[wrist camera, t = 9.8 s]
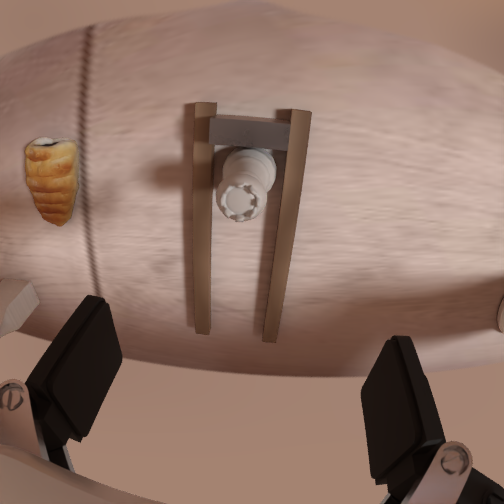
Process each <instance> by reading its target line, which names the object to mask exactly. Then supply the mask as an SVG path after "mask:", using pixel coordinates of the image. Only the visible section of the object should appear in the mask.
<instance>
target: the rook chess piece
mask: <svg viewBox="0 0 504 504" xmlns="http://www.w3.org/2000/svg"><path fill="white" fill-rule="evenodd" d="M276 168H277V167H276V165H275V162H274V159H273V157H272V156H271V155H270V154H269V153H268V152H267V151H266V150H264V149H262V148H254V147H239V148H236V149H234V150H233V151H232V152H231V153H230V154H229V155H228V156H227V158H226V161H225V163H224V165H223V181H222V182H221V183H220V184H219V186H218V189H217V191H216V202H217V204H218V206H219V209H220V210H221V211H222V212H223V214H224V215H225V216H226V217H227V218H231V219H233V220H236V221H235V222H243V221H248V220H251V219H254V218H256V217H257V216H258V215H259V214H261V213H262V212H263V210H264V208H265V206H266V202H267V192H268V191H269V190H270V189H271V187H272V185H273V183H274V181H275V178H276Z"/></svg>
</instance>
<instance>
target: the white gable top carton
mask: <svg viewBox="0 0 504 504" xmlns="http://www.w3.org/2000/svg"><path fill="white" fill-rule="evenodd" d="M39 303H40V301H39V299H38V297H37V295H36V292H35V290H34V288H33V285H32V283H31V281H24V280H14V279H3V280H2V281H1V282H0V338H1V337H3V336H4V335H6V334H8V333H11V332H13V331H16V330H18V329H19V328H20V327H21V326H22V324H23V323H24V322H25V321H26V319H27V318H28V317H29V316H30V314H31V313H32V312H33V311H34V309H35V308H36V307H37V306H38V305H39Z"/></svg>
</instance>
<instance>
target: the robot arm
mask: <svg viewBox="0 0 504 504" xmlns="http://www.w3.org/2000/svg"><path fill="white" fill-rule="evenodd" d="M497 323H498V326H499V329H500V330H501V332H502V333H503V334H504V298H503V300H502V303H501V305H500V308H499V311H498V317H497ZM121 363H122V352H121V349H120V345H119V342H118V338H117V334H116V331H115V327H114V323H113V319H112V315H111V311H110V307H109V304H108V303H106V302H105V299H104V298H101V297H97V296H92V295H87V296H86V297H85V298H84V300H83V301H82V302H81V304H80V305H79V306H78V308H77V309H76V310H75V312H74V313H73V314H72V315H71V317H70V318H69V320H68V321H67V322H66V324H65V325H64V326H63V328H62V329H61V330H60V332H59V333H58V335H57V336H56V337H55V339H54V340H53V342H52V343H51V345H50V346H49V347H48V349H47V350H46V352H45V353H44V355H43V356H42V357H41V359H40V360H39V362H38V363H37V365H36V366H35V368H34V369H33V371H32V372H31V374H30V375H29V377H28V379H27V381H26V382H25V384H24V383H23V382H21V381H20V380H16V379H10V380H7V381H4V382H3V383H1V384H0V504H165V503H162V502H158V501H154V500H150V499H147V498H143V497H140V496H137V495H133V494H130V493H127V492H124V491H121V490H118V489H115V488H112V487H109V486H107V485H104V484H101V483H99V482H96V481H93V480H91V479H88V478H86V477H83V476H81V475H78V474H76V473H75V470H74V468H73V465H72V462H71V459H70V456H69V453H68V450H67V447H66V443H67V441H68V439H69V438H71V439H73V440H75V441H78V442H81V440H82V438H83V437H86V436H87V435H88V434H89V431H90V429H91V427H92V425H93V423H94V420H95V418H96V416H97V414H98V412H99V409H100V407H101V405H102V403H103V401H104V399H105V397H106V394H107V392H108V390H109V388H110V386H111V384H112V382H113V380H114V378H115V376H116V374H117V372H118V370H119V368H120V365H121ZM361 402H362V408H363V415H364V422H365V430H366V437H367V446H368V455H369V464H370V473H371V477H372V478H373V479H375V483H376V485H382V484H387V486H388V494H387V495H386V496H385V498H384V499H383V501H382V502H381V503H380V504H504V489H503V487H501V486H500V485H499V484H497V483H495V482H494V481H493V480H491V479H490V478H488V477H486V476H485V475H483V474H482V473H480V472H479V471H477V470H476V469H474V468H473V467H472V464H473V460H472V455H471V452H470V451H469V449H468V448H467V447H466V446H465V445H464V444H463V443H460V442H457V441H450V442H446V440H445V436H444V432H443V429H442V425H441V421H440V418H439V414H438V411H437V408H436V404H435V401H434V398H433V395H432V392H431V389H430V386H429V383H428V380H427V378H426V376H425V375H424V373H423V370H422V367H421V364H420V361H419V358H418V356H417V353H416V350H415V347H414V345H413V342H412V339H411V338H410V337H409V336H392V338H391V339H390V340H387V341H386V342H385V345H384V347H383V349H382V351H381V353H380V355H379V357H378V358H377V360H376V362H375V364H374V366H373V368H372V370H371V372H370V374H369V376H368V377H367V379H366V381H365V383H364V385H363V386H362V389H361Z"/></svg>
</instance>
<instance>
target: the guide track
mask: <svg viewBox="0 0 504 504" xmlns="http://www.w3.org/2000/svg"><path fill="white" fill-rule="evenodd" d="M216 111H217V103H211V102H197V103H195V121H194V149H193V280H194V308H195V330H196V333H197V334H204V335H209V332H210V328H211V228H212V194H213V169H214V147H215V144H209V128H210V118H211V117H213V116H215V115H216ZM311 115H312V112H310V111H304V110H297V109H292V110H291V120H290V124H291V126H290V135H289V144H288V151H287V155H286V163H285V172H284V180H283V188H282V197H281V205H280V213H279V220H278V228H277V236H276V243H275V251H274V259H273V266H272V273H271V281H270V288H269V295H268V302H267V309H266V316H265V323H264V330H263V339H262V342H272V343H276V339H277V334H278V328H279V323H280V318H281V312H282V307H283V301H284V296H285V290H286V284H287V278H288V273H289V267H290V261H291V255H292V249H293V242H294V236H295V230H296V224H297V217H298V210H299V204H300V197H301V190H302V183H303V176H304V169H305V162H306V154H307V147H308V139H309V131H310V123H311Z"/></svg>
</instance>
